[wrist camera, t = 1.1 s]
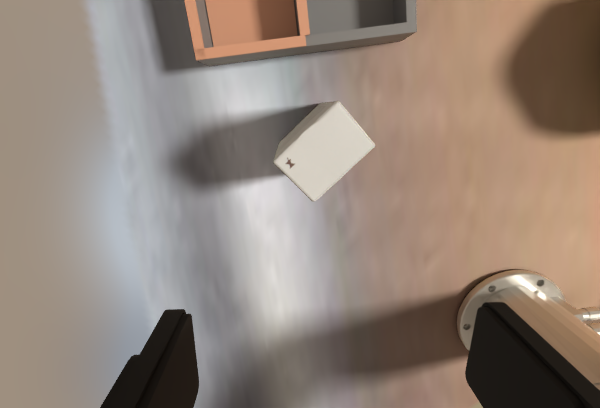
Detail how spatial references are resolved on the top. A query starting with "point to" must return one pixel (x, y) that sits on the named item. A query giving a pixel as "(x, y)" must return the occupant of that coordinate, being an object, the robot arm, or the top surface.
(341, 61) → the top surface
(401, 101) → the top surface
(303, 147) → the skincare box
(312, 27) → the box
